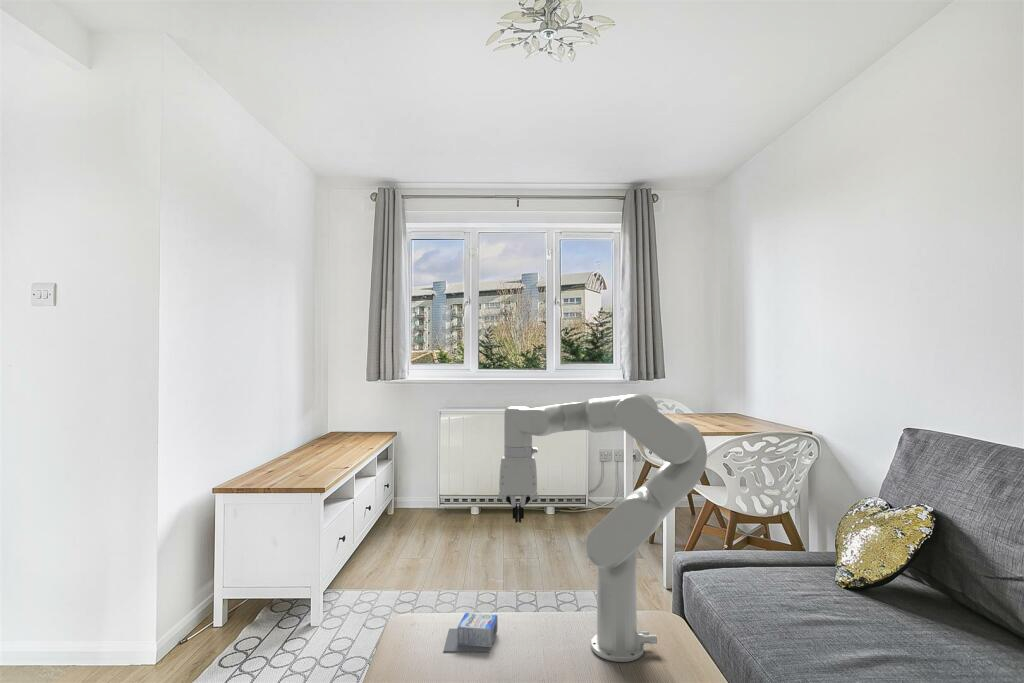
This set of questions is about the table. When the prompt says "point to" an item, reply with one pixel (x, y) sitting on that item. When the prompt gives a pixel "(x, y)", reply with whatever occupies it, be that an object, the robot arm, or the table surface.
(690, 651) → the table surface
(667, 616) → the table surface
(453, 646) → the mat
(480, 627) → the medicine box
